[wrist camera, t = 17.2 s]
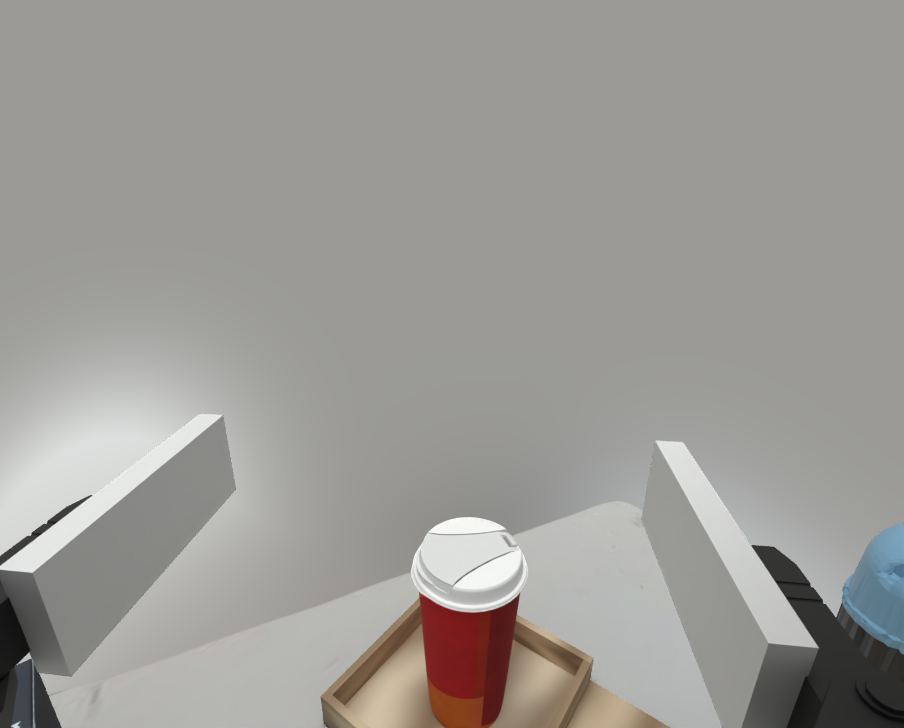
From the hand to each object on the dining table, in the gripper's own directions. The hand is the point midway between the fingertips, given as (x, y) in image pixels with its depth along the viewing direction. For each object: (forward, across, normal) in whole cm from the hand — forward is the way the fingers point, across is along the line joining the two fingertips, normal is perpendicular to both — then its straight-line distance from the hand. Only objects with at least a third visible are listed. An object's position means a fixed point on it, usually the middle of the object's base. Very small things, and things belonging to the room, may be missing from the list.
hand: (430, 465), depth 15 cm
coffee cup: (+15, 0, -32) cm, 35 cm away
